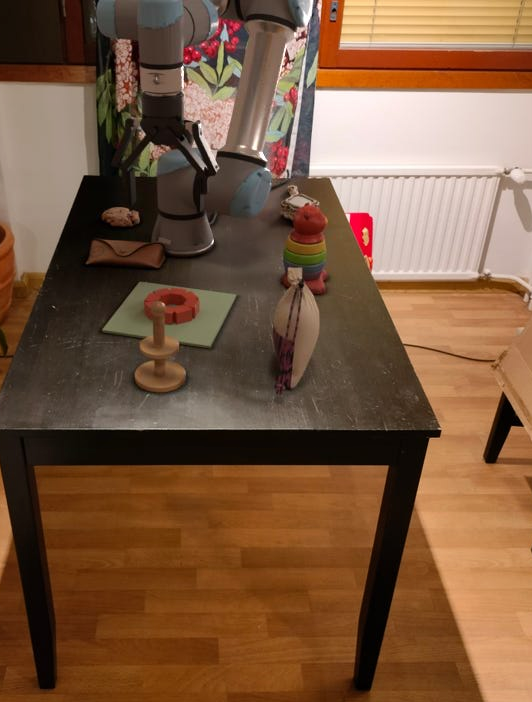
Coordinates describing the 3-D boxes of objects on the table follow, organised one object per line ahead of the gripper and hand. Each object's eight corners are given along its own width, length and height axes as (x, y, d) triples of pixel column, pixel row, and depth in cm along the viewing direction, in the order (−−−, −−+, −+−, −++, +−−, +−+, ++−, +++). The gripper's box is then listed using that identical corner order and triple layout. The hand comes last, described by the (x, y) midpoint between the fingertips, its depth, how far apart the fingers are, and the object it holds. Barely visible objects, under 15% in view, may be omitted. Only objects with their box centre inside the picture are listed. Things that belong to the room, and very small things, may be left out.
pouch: (274, 328, 142) (281, 239, 132) (315, 331, 141) (325, 242, 131) (265, 401, 121) (272, 302, 111) (313, 406, 120) (325, 307, 110)
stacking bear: (325, 295, 154) (333, 217, 144) (278, 290, 156) (284, 213, 146) (328, 274, 163) (336, 199, 153) (284, 269, 165) (289, 195, 155)
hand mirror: (312, 181, 209) (327, 209, 183) (306, 201, 212) (320, 231, 185) (277, 173, 208) (287, 200, 182) (272, 192, 211) (280, 222, 184)
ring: (155, 296, 152) (155, 285, 150) (204, 302, 150) (204, 291, 148) (138, 320, 143) (137, 308, 142) (189, 327, 141) (189, 316, 139)
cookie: (110, 212, 194) (109, 202, 192) (146, 217, 191) (146, 206, 189) (94, 225, 186) (93, 214, 184) (132, 231, 183) (131, 220, 181)
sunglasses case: (83, 264, 165) (85, 235, 164) (90, 267, 172) (92, 239, 171) (160, 268, 163) (162, 239, 163) (164, 271, 170) (166, 243, 170)
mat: (139, 283, 158) (139, 281, 158) (236, 296, 153) (236, 294, 153) (102, 332, 140) (101, 329, 140) (210, 348, 135) (210, 346, 135)
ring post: (144, 361, 131) (141, 286, 123) (191, 368, 130) (191, 293, 121) (127, 387, 124) (123, 311, 116) (177, 396, 122) (175, 318, 114)
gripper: (87, 91, 124) (97, 207, 136) (227, 101, 119) (224, 220, 131) (103, 82, 130) (111, 193, 142) (236, 90, 125) (233, 205, 137)
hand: (165, 206), depth 137 cm, fingers open, 13 cm apart
